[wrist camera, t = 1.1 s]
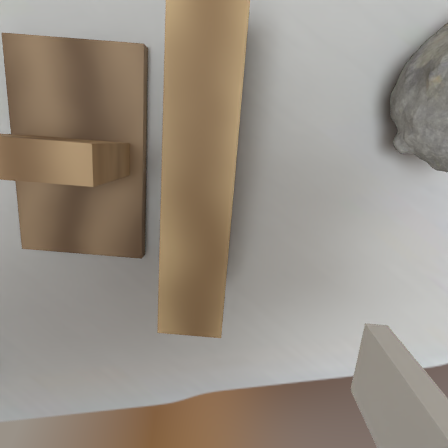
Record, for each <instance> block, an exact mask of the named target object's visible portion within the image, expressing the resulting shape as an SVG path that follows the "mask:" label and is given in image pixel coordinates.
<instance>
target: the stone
mask: <svg viewBox="0 0 448 448" xmlns="http://www.w3.org/2000/svg"><path fill="white" fill-rule="evenodd" d="M390 106H391V115H390V116H391V119H392V120H393V121H394V123H395V124H396V127H397V134H396V136H395V138H394V140H393V144H394V147H395V148H396V150H397V151H398V152H399V153H401V154H405V153H412V154H415V155H416V156H418V157H419V158H420V159H422V160H424V161H425V162H427V163H428V164H429V165H430V166H431V167H432V168H434V169H435V170H438V171H445V172H448V23H447V24H446V25H444V26H443V27H442V28H441V29H440V30H438V32H437V33H436V34H435V35H433V36H431V37H430V38H429V39H428V40H427V41H426V42H425V43H424V44H423V45H422V46H421V47H420V48H419V50H418V51H417V52H416V53H415V54H414V55H412V57H411V58H410V60H409V61H408V62H407V63H406V65H405V66H404V68H403V70H402V72H401V74H400V76H399V78H398V81H397V83H396V86H395V87H394V89H393V91H392V93H391V96H390Z"/></svg>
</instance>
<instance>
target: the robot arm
mask: <svg viewBox="0 0 448 448" xmlns="http://www.w3.org/2000/svg"><path fill="white" fill-rule="evenodd" d="M351 392H352V394H353V396H354V398H355V400H356V402H357V405H358V407H359V409H360V411H361V413H362V416H363V418H364V420H365V422H366V424H367V426H368V429H369V431H370V433H371V435H372V437H373V439H374V442H375V444H376V446H377V448H448V398H447V397H446V396H445V395H444V393H443V392H442V391H441V390H440V389H439V387H438V386H437V385H436V384H435V383H434V381H433V380H432V379H431V378H430V377H429V375H428V374H427V373H426V372H425V370H424V369H423V368H422V367H421V366H420V364H419V363H418V362H417V361H416V359H415V358H414V357H413V356H412V355H411V353H410V352H409V351H408V350H407V349H406V347H405V346H404V345H403V344H402V342H401V341H400V340H399V339H398V338H397V336H396V335H395V334H394V333H393V332H392V330H391V329H390V328H389V327H388V326H386V325H375V324H365V327H364V331H363V336H362V340H361V345H360V350H359V354H358V359H357V363H356V368H355V372H354V377H353V381H352V387H351Z"/></svg>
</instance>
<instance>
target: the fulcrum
mask: <svg viewBox="0 0 448 448" xmlns="http://www.w3.org/2000/svg"><path fill="white" fill-rule="evenodd" d="M2 43H3V53H4V64H5V74H6V85H7V96H8V106H9V117H10V127H11V134H0V179H1V180H14V181H16V191H17V201H18V212H19V222H20V233H21V243H22V249H33V250H45V251H57V252H69V253H81V254H93V255H105V256H117V257H130V258H143V256H144V255H145V218H146V140H147V61H148V48H147V47H146V46H145V44H140V43H127V42H115V41H102V40H89V39H76V38H63V37H50V36H38V35H25V34H12V33H2Z"/></svg>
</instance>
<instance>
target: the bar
mask: <svg viewBox="0 0 448 448" xmlns="http://www.w3.org/2000/svg"><path fill="white" fill-rule="evenodd" d="M249 6H250V0H166V17H165V56H164V96H163V135H162V174H161V214H160V253H159V292H158V332H157V333H167V334H179V335H191V336H202V337H214V338H221V333H222V321H223V309H224V298H225V286H226V274H227V263H228V251H229V239H230V228H231V216H232V204H233V193H234V181H235V169H236V158H237V146H238V135H239V123H240V111H241V100H242V88H243V76H244V65H245V53H246V41H247V30H248V18H249Z"/></svg>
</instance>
